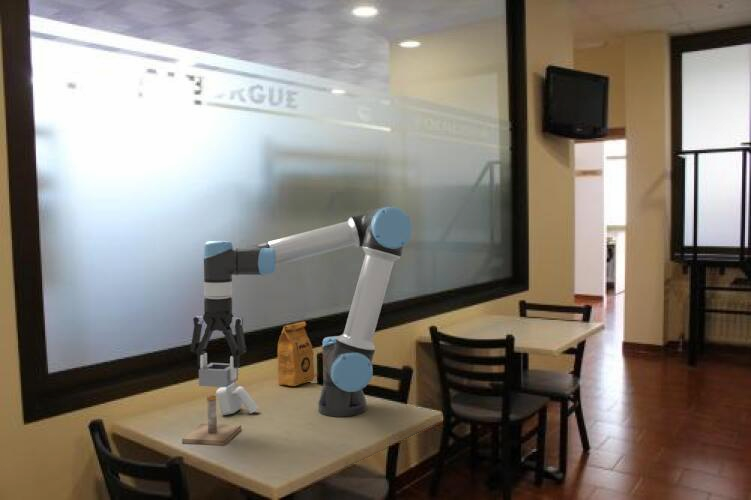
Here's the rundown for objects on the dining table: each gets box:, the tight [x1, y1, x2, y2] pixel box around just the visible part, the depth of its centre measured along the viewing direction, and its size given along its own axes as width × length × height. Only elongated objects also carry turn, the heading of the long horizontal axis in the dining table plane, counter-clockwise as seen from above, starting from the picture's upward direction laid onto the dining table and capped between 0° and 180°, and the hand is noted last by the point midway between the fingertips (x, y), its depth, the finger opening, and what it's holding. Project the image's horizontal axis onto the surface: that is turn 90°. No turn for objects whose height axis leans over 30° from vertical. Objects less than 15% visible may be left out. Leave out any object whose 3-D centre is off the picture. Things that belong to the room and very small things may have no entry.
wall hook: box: [215, 382, 259, 416], centre depth 192 cm, size 8×10×10 cm
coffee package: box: [276, 321, 315, 387], centre depth 224 cm, size 10×12×22 cm
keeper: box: [181, 394, 242, 446], centre depth 172 cm, size 12×12×11 cm
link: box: [198, 362, 239, 388], centre depth 172 cm, size 8×8×4 cm
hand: (218, 378), depth 172 cm, fingers closed on link, 8 cm apart
